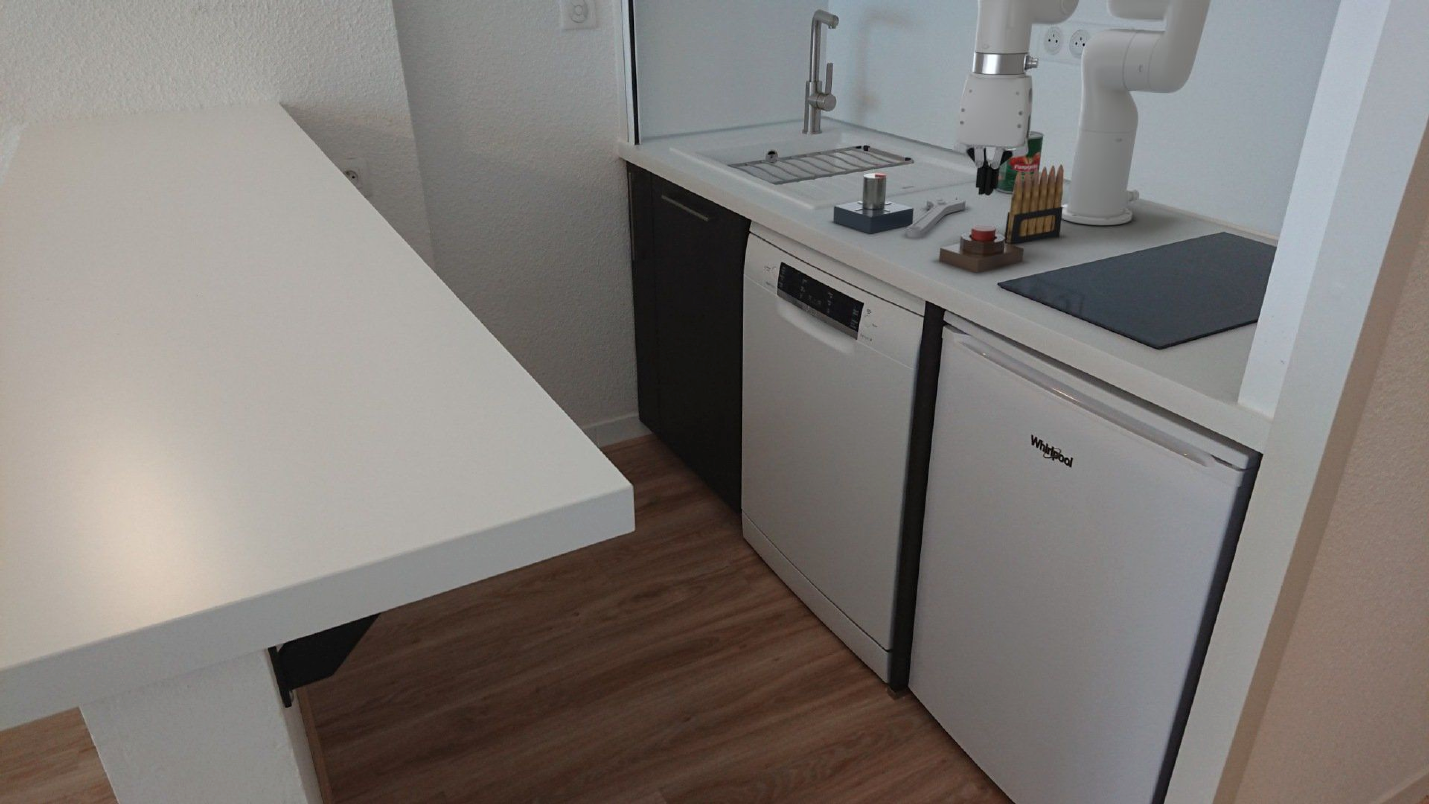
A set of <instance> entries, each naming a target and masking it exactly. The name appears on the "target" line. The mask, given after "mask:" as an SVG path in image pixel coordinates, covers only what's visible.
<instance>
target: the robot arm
mask: <svg viewBox="0 0 1429 804" xmlns="http://www.w3.org/2000/svg"><path fill="white" fill-rule="evenodd" d="M1211 1H1212V0H1105V9H1106V12H1107V13H1108V15H1109V16H1110V17H1112V18H1114V19H1116V20H1120V21H1127V22H1128V21H1129V22H1144V23H1145V22H1147V23H1148V22H1149V23H1165V24H1166V25H1165V30H1150V29H1149V30H1147V29H1136V28H1132V29H1131V28H1110V29H1103V30H1102V31H1099V32H1096V33H1095V34H1093V35H1092V36H1091V37H1090V38H1089V39H1088V40H1087V41H1086V43H1085V44H1084V47H1083V48H1082V52H1081V59H1080V73H1081V75H1080V76H1081V99H1080V100H1081V101H1080V111H1079V117H1078V118H1079V119H1078V126H1077V133H1076V140H1075V147H1074V152H1073V153H1074V155H1073V161H1072V168H1071V177H1070V184H1069V191H1068V198H1067V203H1065V204H1061V207H1063V209H1062V219H1061V220H1065V221H1067V222H1071V223H1075V224H1081V225H1089V226H1116V225H1122V224H1126V223H1128V222H1130V221H1132V219H1133V212H1132V211H1131V210H1130V209H1129V208H1127V204H1128V203H1129V202H1130V203H1131V202H1134V201H1137V200H1138V199H1139V198H1140V192H1139V191H1138V190H1137V189H1132V190H1128V187H1129V178H1130V173H1131V167H1132V161H1133V156H1134V155H1133V154H1134V149H1135V144H1136V143H1135V142H1136V137H1137V132H1138V131H1137V130H1138V125H1139V112H1138V107H1137V105H1136V102H1135V100H1134V98H1133V96H1132V93H1131V92H1142V93H1151V94H1152V93H1153V94H1172V93H1176V92H1177V91H1179V90H1181V89H1182V88H1184V86H1185V85H1186V83H1187V82H1188V80H1189V79H1190V76H1191V73H1192V70H1193V68H1194V64H1195V61H1196V58H1197V54H1198V50H1199V46H1200V42H1201V39H1202V35H1203V32H1204V29H1205V28H1204V27H1205V24H1206V20H1207V18H1208V17H1207V16H1208V13H1209V9H1210V7H1211V6H1210V5H1211ZM1079 2H1080V0H977V3H976V4H977V8H978V11H977V20H976V28H975V29H976V30H975V39H974V52H973V59H972V60H973V61H972V71H971V73H969V74H967V76H966V79H965V82H964V86H963V90H962V94H961V100H960V104H959V110H958V114H957V115H958V116H957V122H956V131H955V138H956V139H955V142H954V146H953V150H954V151H955V152H957V153H961V154H963V155H967V156H968V157H969V158H970V159H971V161H972V162H973V163H974V165H975V167H976V178H975V188H977V189H978V195H980V196H983V195H985V196H991V195H992V194H993V193H994V190H997V186H998V179H999V170H1000V166H1001V165H1002V164H1003V163H1005V162H1006V161H1007V160H1008V159H1009V158H1015V157H1021V156H1025V155H1026V154H1027V153H1028V144H1027V141H1028V139H1029V136H1030V131H1032V129H1031V128H1032V117H1033V97H1034V96H1033V94H1034V92H1033V91H1034V90H1033V77H1032V75H1029V74H1028V75H1027V72H1028V71H1029V70H1032V69H1037V68H1038V66H1039V58H1038V57H1037V58H1036V57H1033V56H1032V55H1031V53H1030V46H1031V38H1032V30H1033V29H1032V28H1033V26H1034V27H1035V26H1036V27H1052V26H1057V25H1059V24H1063V23H1065V22H1066V21H1067V20H1069V18H1071V16H1072V15H1074V13H1075V12H1076V10H1077V8H1078V5H1079ZM988 148H994V152H993V155H992V159H991V163H989V161H988ZM1007 148H1013V149H1008V150H1007Z"/></svg>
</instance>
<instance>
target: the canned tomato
mask: <svg viewBox="0 0 1429 804" xmlns="http://www.w3.org/2000/svg"><path fill="white" fill-rule="evenodd" d="M1044 134H1045V133H1043V132H1040V131H1036V130H1030V136H1029V139H1028V141H1027V144H1028V153H1027V154H1026V155H1025V156H1021V157H1015V158H1009V159H1008V160H1007V161H1006V162H1005V163H1003V164H1002V165H1001V166H1000V170H999V179H998V186H997V189H996V191H998V192H1001V193H1004V194H1010V195H1011V194H1012V195H1013V190H1014V185H1015V180H1016V176H1017V174H1018V172H1019V171H1021V173H1022V187H1023V181H1024V177H1025V174H1026V172H1027V170H1028V169H1029V170H1030V175H1031V182H1032V177H1033V174H1034V171H1035V169H1036V168H1038V171H1039V172H1040V166H1041V157H1042V150H1043V142H1044V136H1045V135H1044ZM1008 149H1013V148H1007V150H1008ZM1030 187H1031V184H1030Z"/></svg>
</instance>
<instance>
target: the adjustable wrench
mask: <svg viewBox="0 0 1429 804" xmlns="http://www.w3.org/2000/svg"><path fill="white" fill-rule="evenodd" d="M926 209H927V210H928V211H926V212H925V213H923V215H921V216H920V217H919V218H917V219H916V220H915V221H913V223H912V224H911V225H908V226H907V228H906V237H907V238H912V239H918V238H922V237H923V236H924V235H925V234H927V233H928V232H929V231H930V230H931V229H932V228H933V227H934V226H935V225H936V224H937V223H938V222H939V221H941V219H942V218H943V217H944V216H946V215H948V214H951V213H954V212H960V211H962V210H964V209H966V199H965V198H964V197H961V196H955V199H953V200H943V197H942V196H935V197H932V198H930V200H927V201H926Z"/></svg>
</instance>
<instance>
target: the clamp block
mask: <svg viewBox="0 0 1429 804" xmlns="http://www.w3.org/2000/svg"><path fill="white" fill-rule="evenodd" d="M914 209H915V208H914V207H911V206H908V205H904V204H901V203H896V202H893V201H889V200H886V199H885V207H884V208H882V209H866V208H863V207H862V200H857V201H851V202H847V203H842V204H836V205H834V206H833V223H836V224H838V225H842V226H845V227H847V228H851V229H853V230H857V231H860V232H863V233H866V234H869V235H871V234H875V233H880V232H885V231H889V230H890V231H891V230H895V229H899V228H904V227H909V226H910V225H911V224H912V223H914Z"/></svg>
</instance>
